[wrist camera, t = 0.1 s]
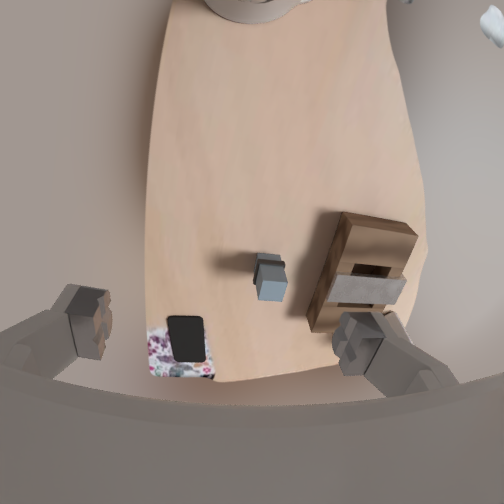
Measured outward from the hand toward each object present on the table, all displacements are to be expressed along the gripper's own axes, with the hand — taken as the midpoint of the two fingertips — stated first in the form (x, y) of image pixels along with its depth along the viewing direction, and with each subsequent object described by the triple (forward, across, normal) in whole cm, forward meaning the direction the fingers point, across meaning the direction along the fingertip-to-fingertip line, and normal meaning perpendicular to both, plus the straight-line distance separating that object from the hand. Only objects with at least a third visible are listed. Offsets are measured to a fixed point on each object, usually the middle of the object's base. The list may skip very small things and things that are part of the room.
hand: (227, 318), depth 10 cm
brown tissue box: (+41, -29, +19) cm, 54 cm away
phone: (+44, +2, +41) cm, 60 cm away
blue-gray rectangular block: (+41, -11, +19) cm, 46 cm away
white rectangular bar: (+39, -30, +19) cm, 52 cm away
